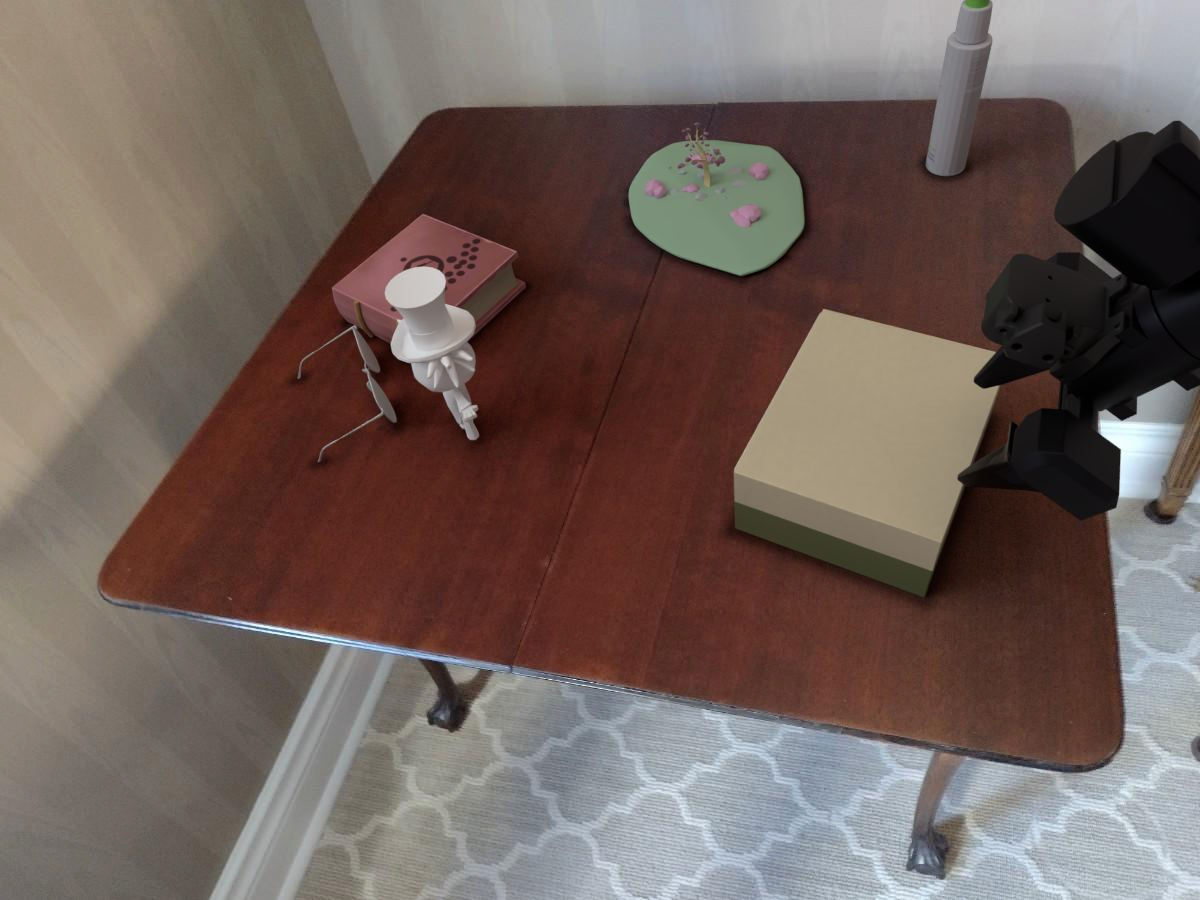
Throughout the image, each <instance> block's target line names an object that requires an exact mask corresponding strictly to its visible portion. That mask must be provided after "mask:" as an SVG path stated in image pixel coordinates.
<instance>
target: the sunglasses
mask: <svg viewBox="0 0 1200 900" xmlns="http://www.w3.org/2000/svg"><path fill="white" fill-rule="evenodd" d="M350 331H352V332H353V335H354V337H355V340H356V341H355V342H356V344H357V347H358V350H359V353H360V356H361V357H362V359H363V362H364V368H362V370H361V371H362V372H363V373H364V374H366V375H367V378H368V381H367V382H366V387H367V388H368V390H369V391H370V392H371V393H372V396H373V398H374V400H375V402H376V405H377V406H378V408H379V410H380V411H381V412H380V413H379V414H378V415H376V416H374V417H373V418H371V419H369V420H367V421H366V422H363V424H361V425H359V426H358V427H356V428H354V429H352V430H351V431H349V432H347V433H346V434H344V435H343V436H341V437H339V438H338V439H335V440H334V441H331V442H330V443H328V444H326V445H324V446H323V448H322V449H321V451H320V453H319V457H318V461H317V463H321V462H322V458H323V452H324V451H325V450H326V449H328V447H331V446H332V445H334V444H335V443H337V442H338V441H340V440H342V439H343V438H345V437H347V436H349V435H350V434H352V433H354V432H356V431H358V430H359V429H361V428H363V427H365V426H367V425H368V424H370V423H372V422H374V421H376V420H377V419H379V418H381V417H382V416H385V417H386V418H387V419H388V420H389V421H390V422H391V423H393V424H395V423H397V420H398V419H397V415H396V412H395V410H394V408H393V406H392V403H391V401H390V400H389V398H388V397H387V395H386V394H385V392H384V390H383V389H382V388H381V386H380V385H379V384H378V382H377V381H376V379H374V378H373V376H372V374H373V373H371V372H374V373H376V374H379V373H380V372H381V366H380V364H379V362H378V360H377V358H376V355H375V354H374V352H373V350H372V348H371V347H370V346H369V344H368V343H367V342H366V341H367V340H365V338H364V337H363V336H362V334H361V333H360V332H359V330H358V327H357V326H355V325H352V326H351V327H349V328H348V329H346V330H344V331H343V332H342V333H340V334H339V335H337V336H335V337H334V338H333V339H331V340H330V341H328V342H327V343H325V344H324V345H322V346H321V347H319V348H318V349H316V350H315V351H313V352H311V353H309V354H308V355H306V356H304V358H303V359H301V361H300V363H299V367H298V375H297V379H298V380H299V379H301V376H302V366H303V363H304V361H306V359H309V358H310V357H311V356H313V355H314V354H315V353H316V352H319V350H321V349H323V348H324V347H326V346H327V345H329V344H331V343H332V342H334V341H336V340H337V339H339V338H340V337H342V336H344V335H345V334H347V333H348V332H350ZM367 367H368V368H367ZM370 371H371V372H370Z"/></svg>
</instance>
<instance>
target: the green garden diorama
mask: <svg viewBox="0 0 1200 900" xmlns="http://www.w3.org/2000/svg"><path fill="white" fill-rule="evenodd" d="M693 125H694V126H695V127H700V126H701V122H699V121H698V122H695V123H693ZM691 130H692V129H691V128H690V127H687V128H685V129H681V133H685V132H686V131H691ZM698 131H699V130H698V129H696V134H695V135H694V138H695V140H692V136H691V134H690V132H687V135H685V140H684V141H677V142H673V143H671V144H668V145H666V146H665V147H662V148H661V149H659V150H657V151H655V152H654V153H652V154H651V155H650V156H649V157H648V158H647V159H646V160H645V162H644V163H643V165H642V166H641V168H640V169H639V170H638V172H637V174H636V175H635V177H634V178H633V180H632V182H631V183H630V186H629V189H628V204H629V212H630V217H631V221H632V223H633V225H634V226H635V228H636V229H637V230H638V231H639V232H640V233H641V234H642V235H643V236H644V237H645V238H646V239H647V240H649V241H650V242H651V243H653V244H654V245H655V246H657V247H658V248H660V249H662V250H664V251H665V252H667V253H668V254H670V255H673V256H675V257H678V258H680V259H682V260H686V261H690V262H693V263H696V264H699V265H702V266H706V267H709V268H713V269H716V270H719V271H722V272H725V273H728V274H732V275H735V276H738V277H744V276H747V275H750V274H753V273H756V272H759V271H762V270H764V269H766V268H769V267H771V266H772V265H773V264H775V263H776V262H777V261H778V260H780V259H781V258H782V257H783V256H784V255H785V254H786V253H787V252H788V250H789V249H790V248H791V247H792V245H793V244H794V243H795V242H796V241H797V239H798V238H799V237H800V236H801V235H802V233H803V231H804V228H805V209H804V196H803V195H804V194H803V188H802V184H801V179H800V177H799V175H798V174H797V173H796V171H795V169H794V168H793V167H792V166H791V165H790V164H789V162H787V160H786V159H785V158H784V157H783V156H782V155H781V153H780V152H779V151H777V150H775V149H774V148H772V147H770V146H769V145H760V144H753V143H750V144H749V143H744V142H743V143H742V142H736V141H735V142H733V141H727V140H718V139H708V138H707V136H708V135H710V132H708V131H707V128H703V134H701V135H700V136H699V135H698V133H699V132H698ZM701 138H702V139H701Z"/></svg>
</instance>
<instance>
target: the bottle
mask: <svg viewBox="0 0 1200 900" xmlns="http://www.w3.org/2000/svg"><path fill="white" fill-rule="evenodd" d="M993 5H994V3H993V1H992V0H963V1H962V2H961V3H960V7H959V12H958V14H957V15H958V16H957V21H956V25H955V31H953V32H951V33H950V35H948V37H947V42H946V47H945V52H944V59H943V64H942V68H941V69H942V70H941V75H940V80H939V85H938V91H937V97H936V103H935V104H936V105H935V108H934V109H935V110H934V115H933V121H932V126H931V132H930V138H929V143H928V149H927V154H926V160H925V167H926V169H927V170H928V171H929V172H930V173H931V174H934V175H935V176H940V177H953V176H956V175H959V174H961V173H962V172H964V170H965V168H966V165H967V161H968V157H969V151H970V148H971V142H972V137H973V133H974V128H975V124H976V119H977V115H978V110H979V106H980V101H981V98H982V97H981V96H982V91H983V87H984V83H985V77H986V73H987V70H988V69H987V68H988V64H989V59H990V55H991V51H992V45H993V36H992V35H991V34H990V33H989V30H990V25H991V21H992V12H993Z"/></svg>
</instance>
